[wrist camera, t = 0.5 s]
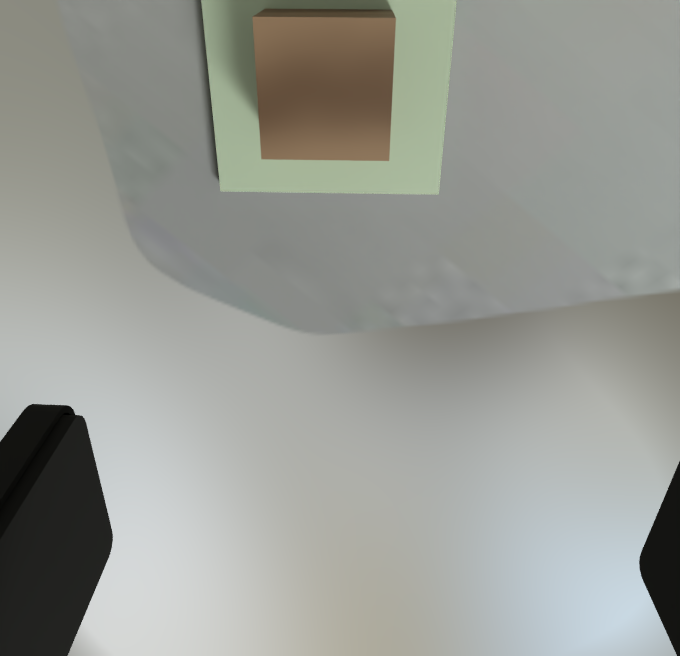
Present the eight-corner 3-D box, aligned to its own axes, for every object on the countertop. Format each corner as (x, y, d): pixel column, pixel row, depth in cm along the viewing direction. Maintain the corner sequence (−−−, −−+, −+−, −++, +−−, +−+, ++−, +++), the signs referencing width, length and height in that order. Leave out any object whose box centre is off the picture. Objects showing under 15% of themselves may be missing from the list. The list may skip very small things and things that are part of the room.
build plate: (198, -67, 28) (194, -67, 28) (460, -66, 28) (462, -66, 27) (223, 186, 35) (220, 191, 34) (437, 189, 34) (438, 194, 34)
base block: (265, 8, 29) (252, 16, 26) (391, 9, 29) (395, 17, 26) (271, 136, 32) (261, 159, 29) (386, 138, 32) (389, 161, 29)
